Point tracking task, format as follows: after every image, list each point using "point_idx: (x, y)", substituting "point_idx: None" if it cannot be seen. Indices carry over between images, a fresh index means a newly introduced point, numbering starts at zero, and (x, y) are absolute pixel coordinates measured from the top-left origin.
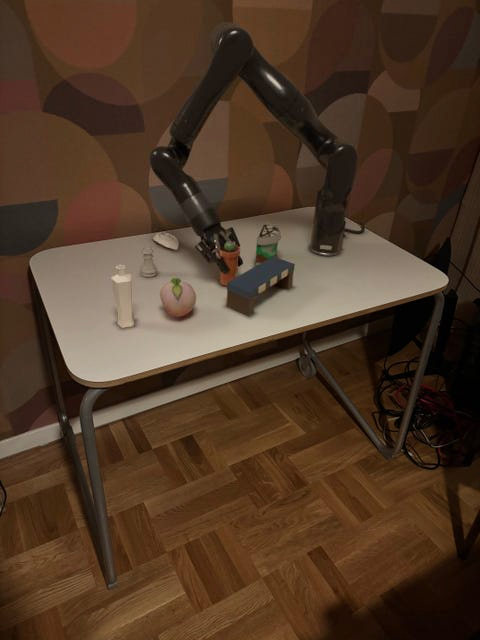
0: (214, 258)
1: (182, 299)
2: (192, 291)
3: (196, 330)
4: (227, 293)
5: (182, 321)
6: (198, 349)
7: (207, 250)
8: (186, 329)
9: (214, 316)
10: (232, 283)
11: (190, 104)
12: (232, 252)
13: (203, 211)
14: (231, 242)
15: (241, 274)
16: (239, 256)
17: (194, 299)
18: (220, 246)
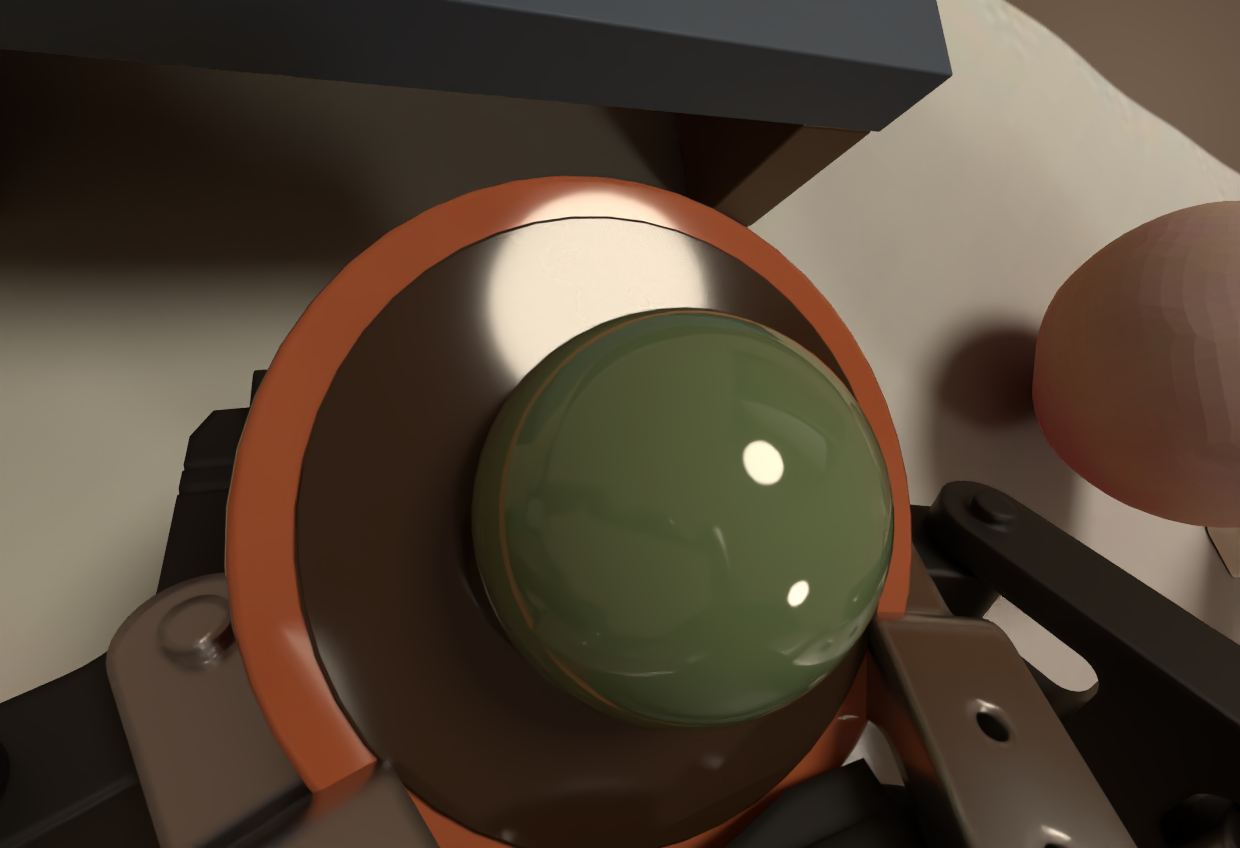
0: (982, 493)
1: None
2: None
3: (1021, 199)
4: (838, 153)
5: (1039, 326)
6: (1076, 85)
7: (1226, 660)
8: (1053, 249)
9: (881, 213)
10: (920, 13)
11: None
12: (734, 257)
13: None
14: (760, 392)
15: (706, 36)
16: (203, 499)
17: (1172, 213)
18: (761, 811)
